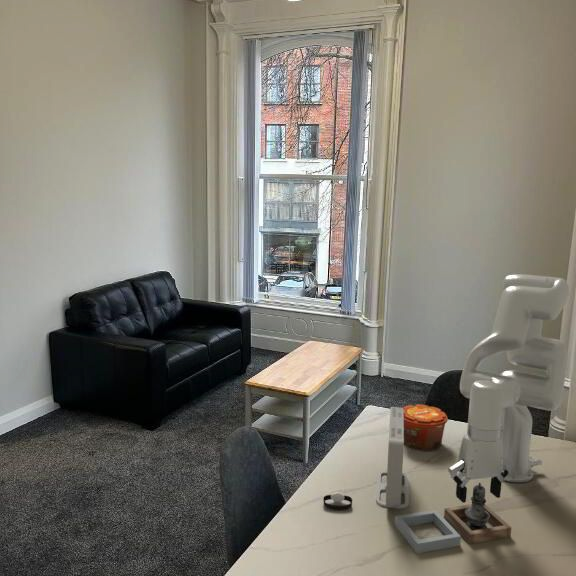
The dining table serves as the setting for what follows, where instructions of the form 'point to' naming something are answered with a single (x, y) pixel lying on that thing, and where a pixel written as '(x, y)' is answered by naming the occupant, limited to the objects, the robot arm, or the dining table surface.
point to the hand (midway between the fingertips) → (478, 497)
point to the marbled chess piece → (477, 510)
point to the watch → (337, 498)
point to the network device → (394, 465)
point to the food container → (423, 427)
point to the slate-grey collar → (431, 543)
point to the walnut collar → (476, 536)
